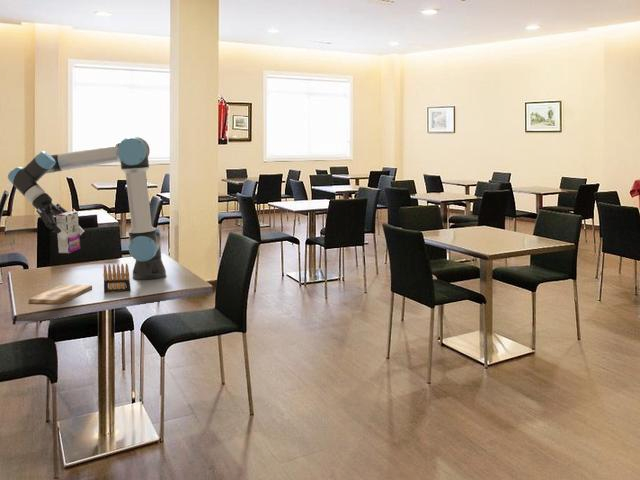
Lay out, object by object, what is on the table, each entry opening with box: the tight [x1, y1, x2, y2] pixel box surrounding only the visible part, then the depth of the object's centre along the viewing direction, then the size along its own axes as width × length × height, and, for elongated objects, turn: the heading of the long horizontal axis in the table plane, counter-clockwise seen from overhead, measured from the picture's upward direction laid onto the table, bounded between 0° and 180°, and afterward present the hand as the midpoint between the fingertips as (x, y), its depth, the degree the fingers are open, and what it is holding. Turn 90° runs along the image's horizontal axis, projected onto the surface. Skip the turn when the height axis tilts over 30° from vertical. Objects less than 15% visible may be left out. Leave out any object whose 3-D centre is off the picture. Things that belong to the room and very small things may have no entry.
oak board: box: [28, 284, 93, 305], centre depth 252 cm, size 14×24×2 cm, turn 173°
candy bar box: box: [55, 211, 81, 254], centre depth 259 cm, size 11×5×16 cm, turn 177°
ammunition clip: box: [103, 263, 132, 293], centre depth 257 cm, size 11×2×12 cm, turn 100°
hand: (74, 235), depth 259 cm, fingers closed on candy bar box, 11 cm apart
